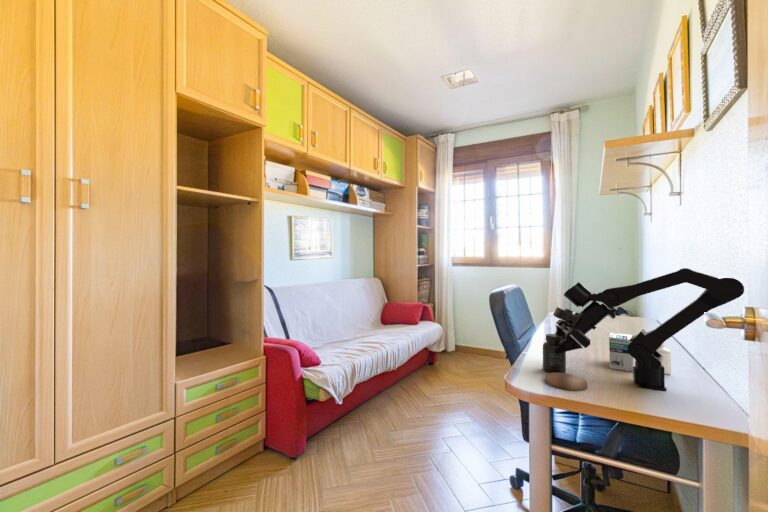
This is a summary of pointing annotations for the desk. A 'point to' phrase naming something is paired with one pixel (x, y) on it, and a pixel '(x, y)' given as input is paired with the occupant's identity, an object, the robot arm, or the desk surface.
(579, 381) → the walnut coaster
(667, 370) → the eye dropper bottle
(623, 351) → the light bulb box
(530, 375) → the desk surface
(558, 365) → the supplement bottle
